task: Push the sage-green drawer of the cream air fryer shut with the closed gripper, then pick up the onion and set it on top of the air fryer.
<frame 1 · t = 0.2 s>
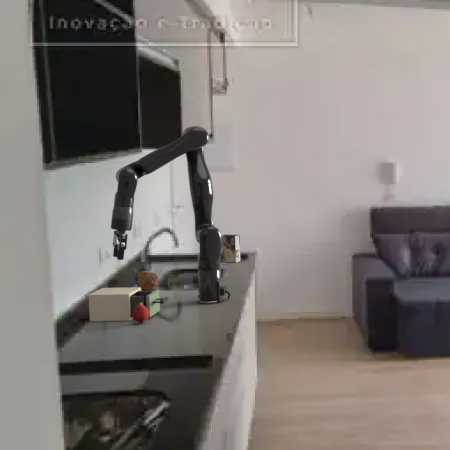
hand: (118, 258, 248), 22 cm above the worktop, tool pointing down, fingers open, 8 cm apart
air fryer: (116, 316, 245), on the worktop
coffee box: (231, 261, 375), on the worktop
fryer drawer: (142, 303, 245), point 5 cm above the worktop, slide at 6.0 cm
tin: (147, 289, 296), on the worktop
onion: (141, 324, 235), on the worktop
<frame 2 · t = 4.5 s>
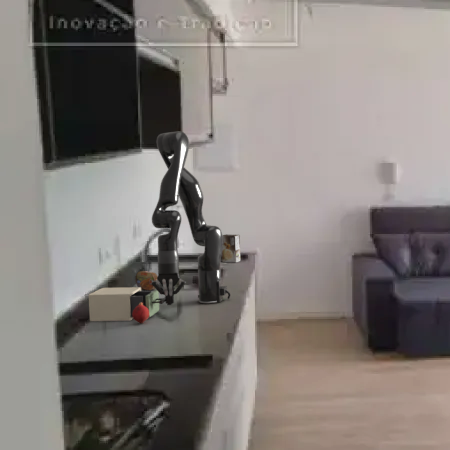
hand: (169, 304, 246), 5 cm above the worktop, tool pointing down, fingers closed
fryer drawer: (141, 303, 245), point 5 cm above the worktop, slide at 5.7 cm, touching gripper
everything else where it was.
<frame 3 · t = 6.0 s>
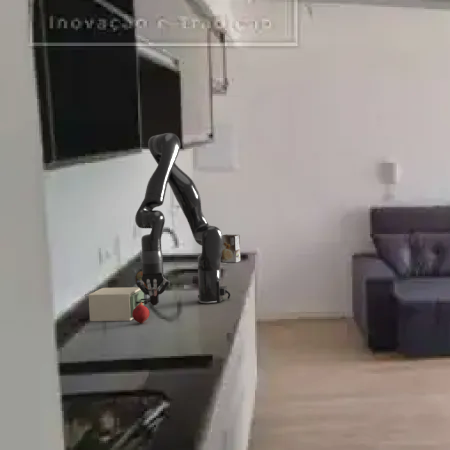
hand: (154, 304, 246), 5 cm above the worktop, tool pointing down, fingers closed
fryer drawer: (126, 303, 245), point 5 cm above the worktop, slide at 0.0 cm, touching air fryer, gripper
everything else where it was.
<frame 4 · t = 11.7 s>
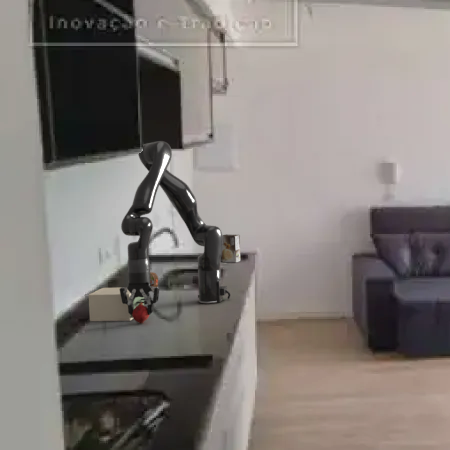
hand: (140, 314, 235), 4 cm above the worktop, tool pointing down, fingers closed on onion, 5 cm apart
fryer drawer: (126, 303, 245), point 5 cm above the worktop, slide at 0.0 cm
onion: (141, 324, 235), on the worktop, touching gripper
everything else where it was.
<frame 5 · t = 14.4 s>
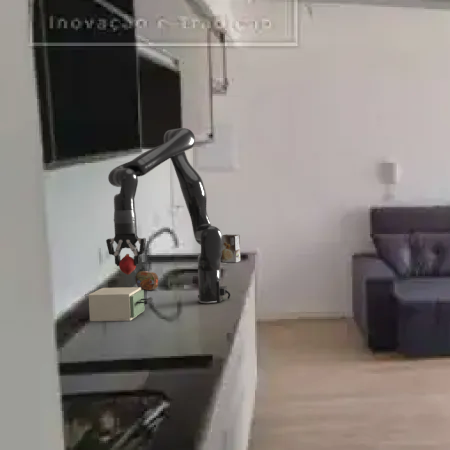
hand: (127, 265, 237), 21 cm above the worktop, tool pointing down, fingers closed on onion, 5 cm apart
onion: (128, 275, 238), point 18 cm above the worktop, touching gripper
everything else where it was.
when the fingers open (14 cm above the worktop, at t = 17.4 s): onion stays where it is, resting on air fryer.
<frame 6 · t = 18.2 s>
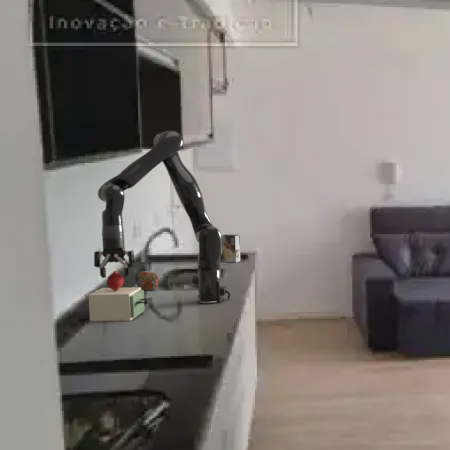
hand: (115, 277, 243), 16 cm above the worktop, tool pointing down, fingers open, 8 cm apart
onion: (115, 291, 244), point 10 cm above the worktop, touching air fryer
everything else where it was.
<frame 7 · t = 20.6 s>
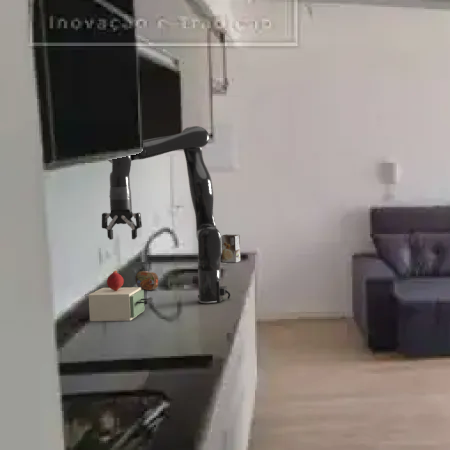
hand: (122, 239, 246), 30 cm above the worktop, tool pointing down, fingers open, 8 cm apart
nothing on the worktop moved.
at the end: fryer drawer slide at 0.0 cm; onion inside the target area on the air fryer (0.1 cm from its centre), point 10.1 cm above the air fryer's base; the gripper is holding nothing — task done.
